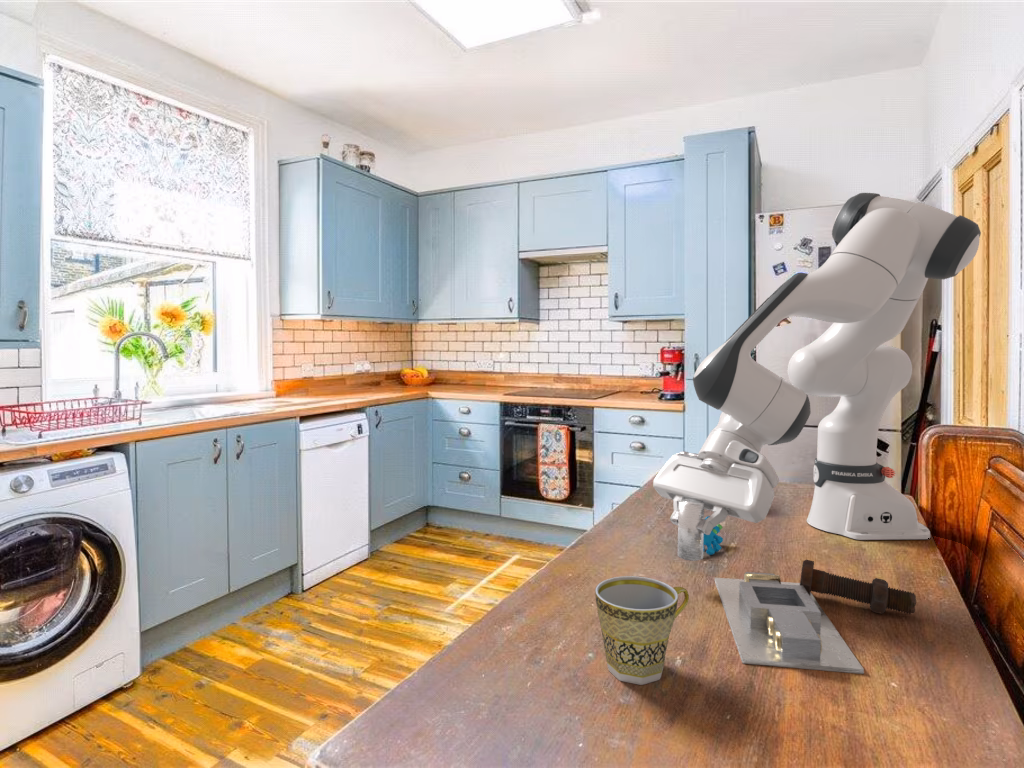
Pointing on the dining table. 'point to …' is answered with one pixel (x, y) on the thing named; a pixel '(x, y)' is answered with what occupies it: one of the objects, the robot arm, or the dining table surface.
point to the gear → (712, 540)
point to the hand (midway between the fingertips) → (688, 527)
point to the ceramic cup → (637, 625)
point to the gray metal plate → (782, 625)
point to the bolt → (857, 590)
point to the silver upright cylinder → (690, 529)
